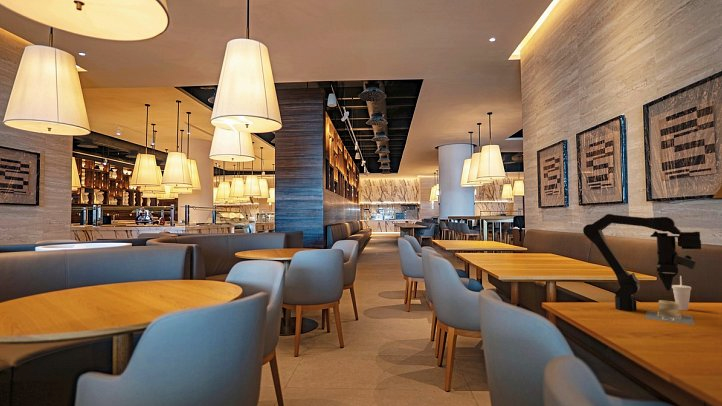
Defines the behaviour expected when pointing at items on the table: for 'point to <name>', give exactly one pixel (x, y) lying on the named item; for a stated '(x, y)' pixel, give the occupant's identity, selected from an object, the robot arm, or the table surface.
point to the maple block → (669, 309)
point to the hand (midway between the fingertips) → (668, 288)
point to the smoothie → (682, 295)
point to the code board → (670, 318)
